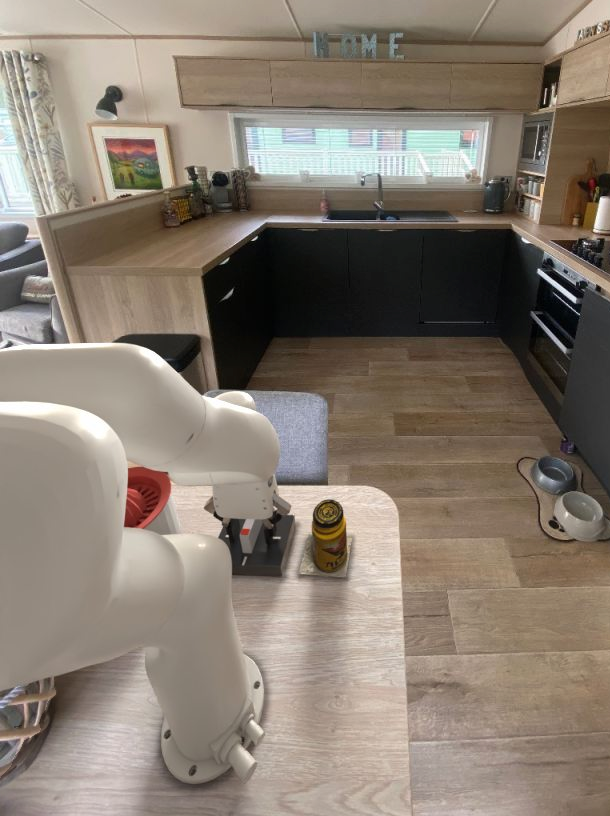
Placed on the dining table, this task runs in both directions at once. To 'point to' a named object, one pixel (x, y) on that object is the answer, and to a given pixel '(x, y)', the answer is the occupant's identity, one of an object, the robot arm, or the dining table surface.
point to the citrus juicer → (150, 502)
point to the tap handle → (250, 534)
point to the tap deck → (262, 550)
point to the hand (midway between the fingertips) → (252, 535)
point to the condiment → (327, 542)
